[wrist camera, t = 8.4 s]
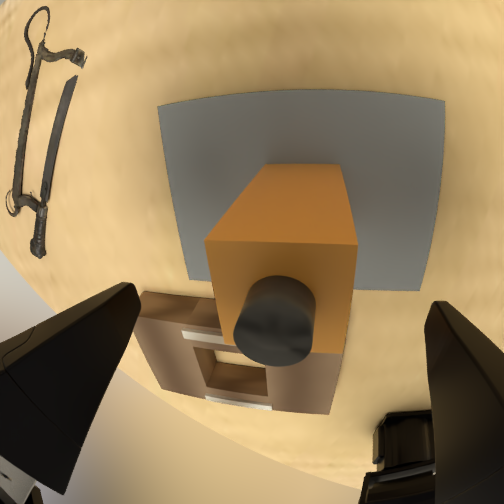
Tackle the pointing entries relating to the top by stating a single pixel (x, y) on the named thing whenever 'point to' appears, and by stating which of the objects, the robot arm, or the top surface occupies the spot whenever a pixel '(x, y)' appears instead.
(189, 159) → the mat
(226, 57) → the top surface
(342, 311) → the plug
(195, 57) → the top surface
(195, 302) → the socket block
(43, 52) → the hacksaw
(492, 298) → the top surface
